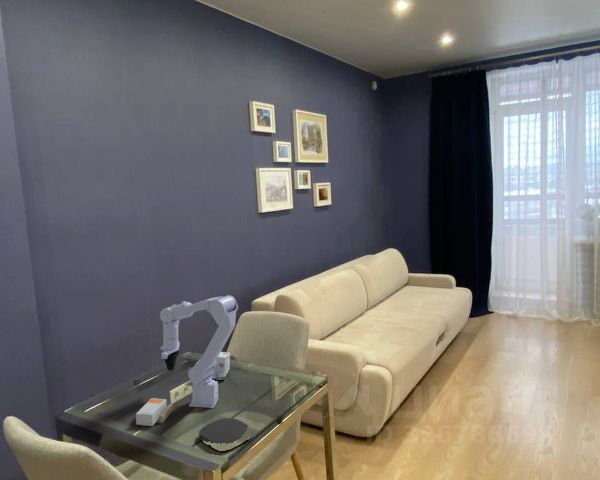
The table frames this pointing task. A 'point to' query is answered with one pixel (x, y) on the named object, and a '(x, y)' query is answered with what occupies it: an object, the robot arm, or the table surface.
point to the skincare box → (150, 412)
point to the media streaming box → (223, 431)
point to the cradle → (165, 414)
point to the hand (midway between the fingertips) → (170, 369)
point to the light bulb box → (222, 365)
